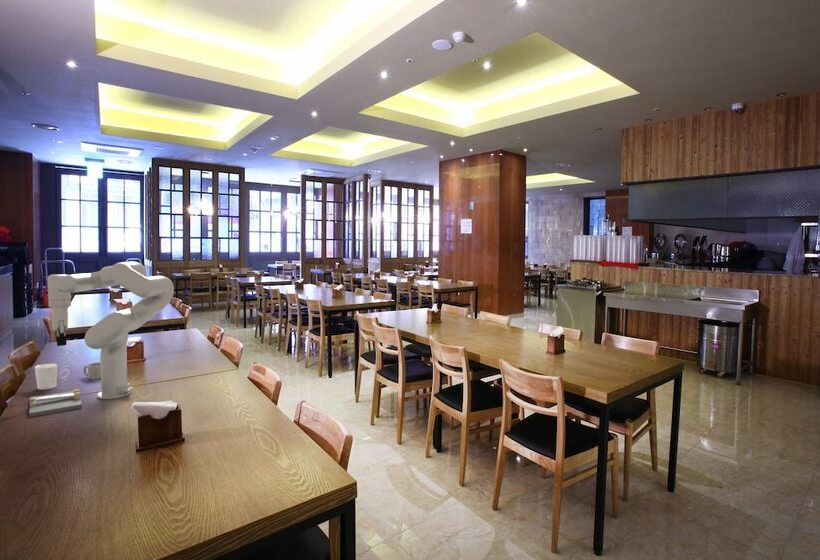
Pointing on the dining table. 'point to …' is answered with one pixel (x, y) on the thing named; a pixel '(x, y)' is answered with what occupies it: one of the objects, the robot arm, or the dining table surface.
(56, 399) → the bar
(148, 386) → the dining table surface
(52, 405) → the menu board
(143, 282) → the robot arm
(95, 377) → the mug
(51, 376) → the white cup
